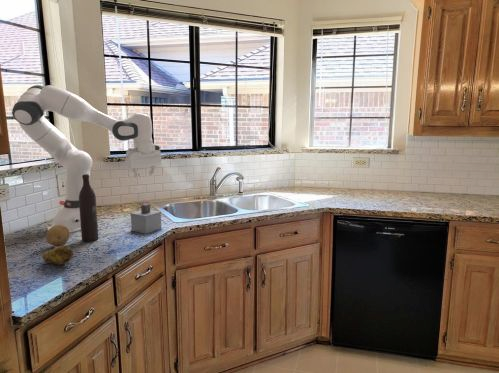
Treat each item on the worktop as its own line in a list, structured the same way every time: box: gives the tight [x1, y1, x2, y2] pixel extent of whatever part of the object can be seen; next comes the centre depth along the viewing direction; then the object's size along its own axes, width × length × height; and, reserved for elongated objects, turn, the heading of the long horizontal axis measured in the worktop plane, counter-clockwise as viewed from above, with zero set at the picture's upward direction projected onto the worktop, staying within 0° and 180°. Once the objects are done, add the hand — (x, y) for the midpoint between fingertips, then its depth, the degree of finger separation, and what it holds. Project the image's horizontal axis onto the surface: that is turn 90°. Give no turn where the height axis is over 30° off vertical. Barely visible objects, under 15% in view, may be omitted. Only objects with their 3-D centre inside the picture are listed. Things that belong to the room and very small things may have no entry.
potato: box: [42, 245, 74, 265], centre depth 141 cm, size 8×13×8 cm, turn 46°
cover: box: [130, 203, 162, 235], centre depth 186 cm, size 10×10×13 cm
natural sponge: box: [45, 225, 71, 247], centre depth 159 cm, size 9×9×10 cm
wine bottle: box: [79, 174, 99, 243], centre depth 168 cm, size 7×7×30 cm
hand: (144, 175), depth 182 cm, fingers open, 8 cm apart
